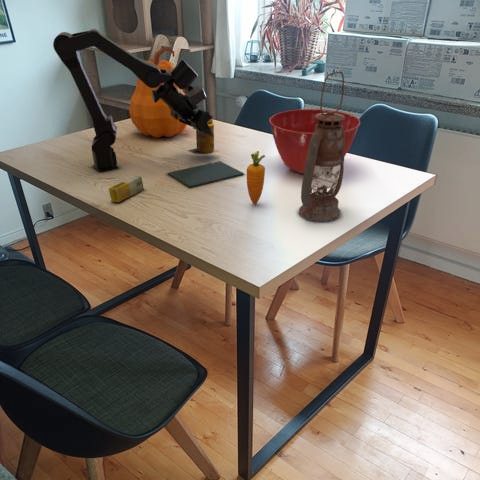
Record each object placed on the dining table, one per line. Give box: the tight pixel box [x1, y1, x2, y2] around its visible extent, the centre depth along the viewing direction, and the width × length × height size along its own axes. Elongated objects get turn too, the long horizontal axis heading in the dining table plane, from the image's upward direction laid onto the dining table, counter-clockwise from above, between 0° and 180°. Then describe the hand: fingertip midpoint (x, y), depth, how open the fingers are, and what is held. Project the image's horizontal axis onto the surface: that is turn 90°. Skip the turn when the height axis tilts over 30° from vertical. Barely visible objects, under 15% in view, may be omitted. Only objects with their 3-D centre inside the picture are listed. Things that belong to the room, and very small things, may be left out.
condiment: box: [186, 113, 220, 157], centre depth 165 cm, size 7×8×12 cm
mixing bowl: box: [268, 108, 361, 176], centre depth 158 cm, size 28×28×15 cm
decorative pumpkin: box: [128, 46, 188, 139], centre depth 185 cm, size 24×24×30 cm
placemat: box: [167, 160, 244, 189], centre depth 157 cm, size 20×14×1 cm
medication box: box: [108, 175, 145, 203], centre depth 142 cm, size 12×3×4 cm, turn 152°
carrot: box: [246, 150, 266, 206], centre depth 134 cm, size 5×5×15 cm
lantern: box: [298, 71, 345, 223], centre depth 123 cm, size 11×16×35 cm
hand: (206, 131), depth 165 cm, fingers closed on condiment, 6 cm apart
